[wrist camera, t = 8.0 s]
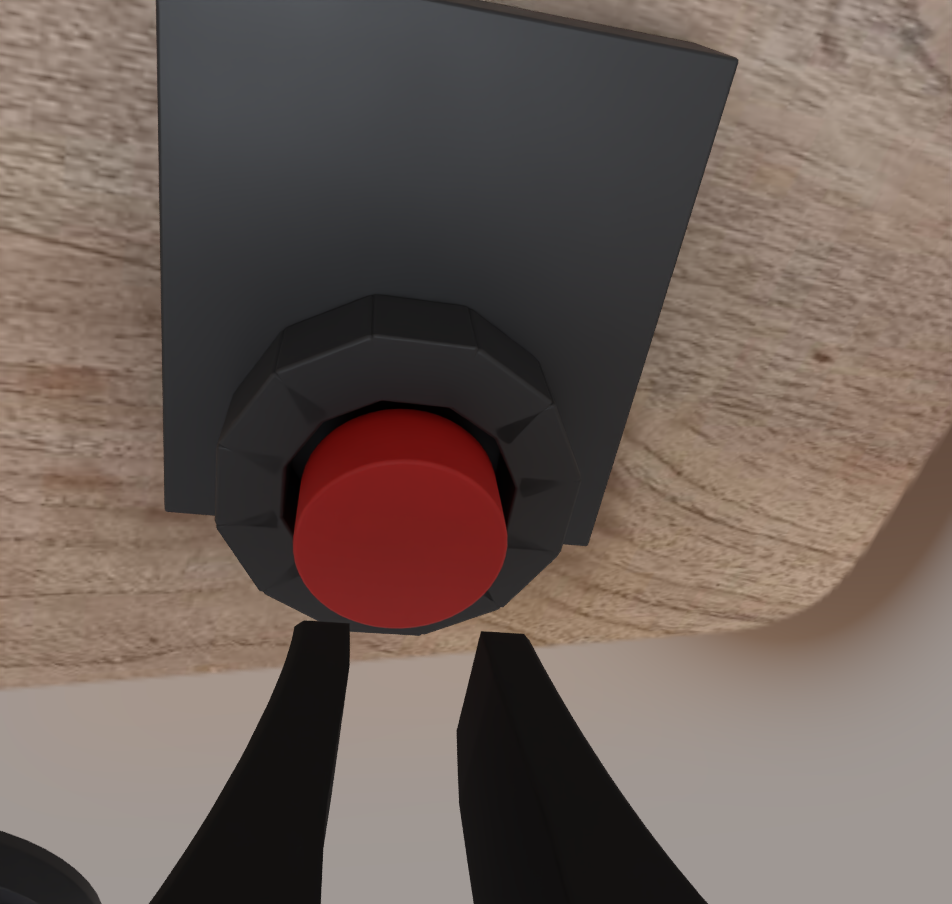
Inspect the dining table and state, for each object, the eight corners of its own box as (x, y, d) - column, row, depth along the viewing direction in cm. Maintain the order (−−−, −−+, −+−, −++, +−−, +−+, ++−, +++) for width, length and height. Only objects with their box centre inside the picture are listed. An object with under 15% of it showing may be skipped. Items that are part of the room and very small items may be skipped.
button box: (557, 531, 21) (592, 647, 18) (184, 500, 19) (144, 620, 16) (696, 43, 15) (788, 75, 12) (184, -59, 14) (120, -55, 10)
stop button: (476, 573, 17) (486, 636, 15) (294, 559, 16) (285, 624, 15) (512, 418, 15) (527, 472, 13) (308, 396, 14) (300, 450, 13)
